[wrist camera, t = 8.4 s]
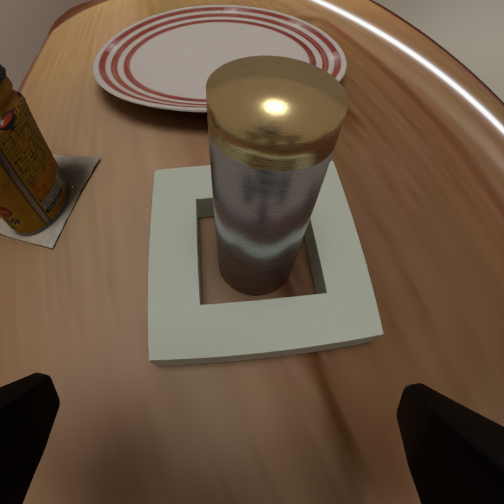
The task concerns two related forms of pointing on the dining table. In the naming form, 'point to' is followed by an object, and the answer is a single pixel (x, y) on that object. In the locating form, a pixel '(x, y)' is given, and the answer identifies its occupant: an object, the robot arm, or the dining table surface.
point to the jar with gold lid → (268, 162)
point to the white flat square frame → (260, 311)
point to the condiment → (34, 175)
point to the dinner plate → (203, 52)
